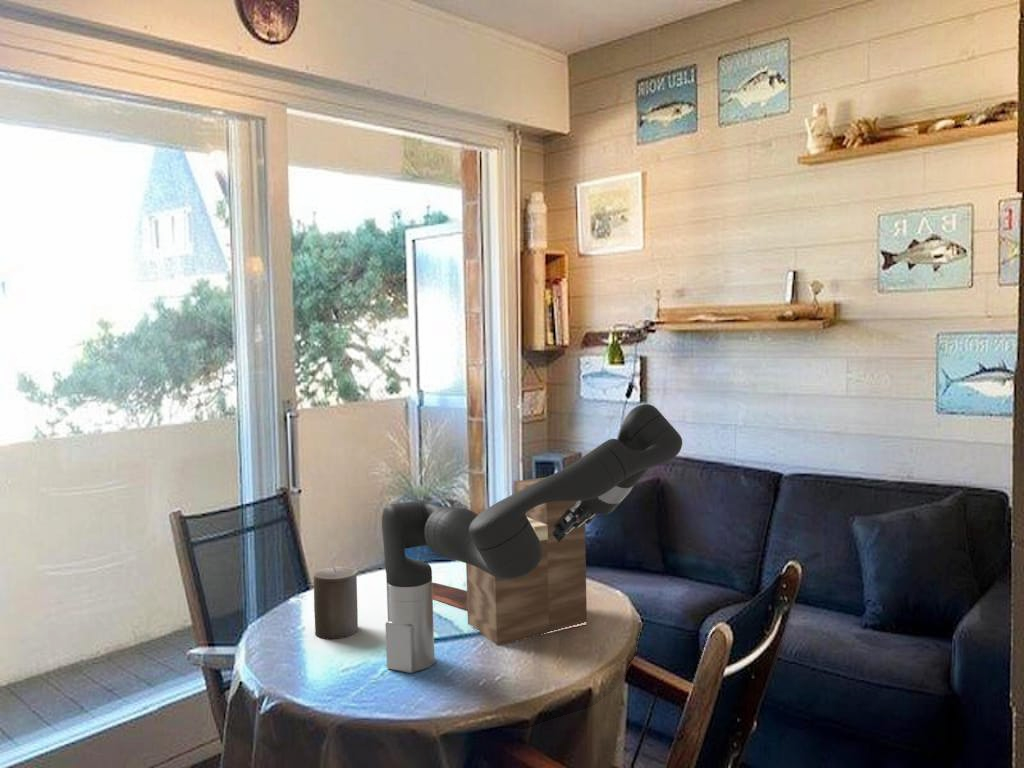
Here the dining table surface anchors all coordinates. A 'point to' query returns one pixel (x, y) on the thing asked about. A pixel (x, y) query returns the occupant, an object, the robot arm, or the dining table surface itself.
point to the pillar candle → (335, 602)
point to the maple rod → (539, 529)
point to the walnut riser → (533, 585)
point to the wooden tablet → (450, 595)
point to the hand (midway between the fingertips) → (570, 528)
